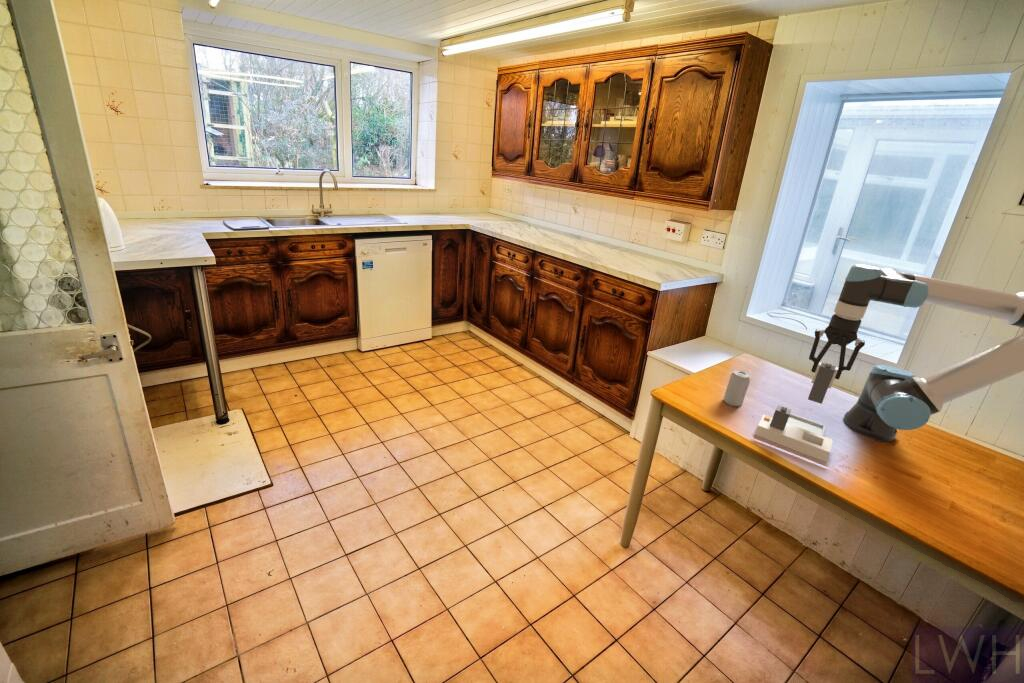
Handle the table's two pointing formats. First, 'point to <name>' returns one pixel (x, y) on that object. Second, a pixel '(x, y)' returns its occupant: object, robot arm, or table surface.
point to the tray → (806, 424)
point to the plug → (821, 382)
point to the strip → (793, 435)
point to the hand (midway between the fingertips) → (821, 384)
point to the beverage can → (737, 388)
